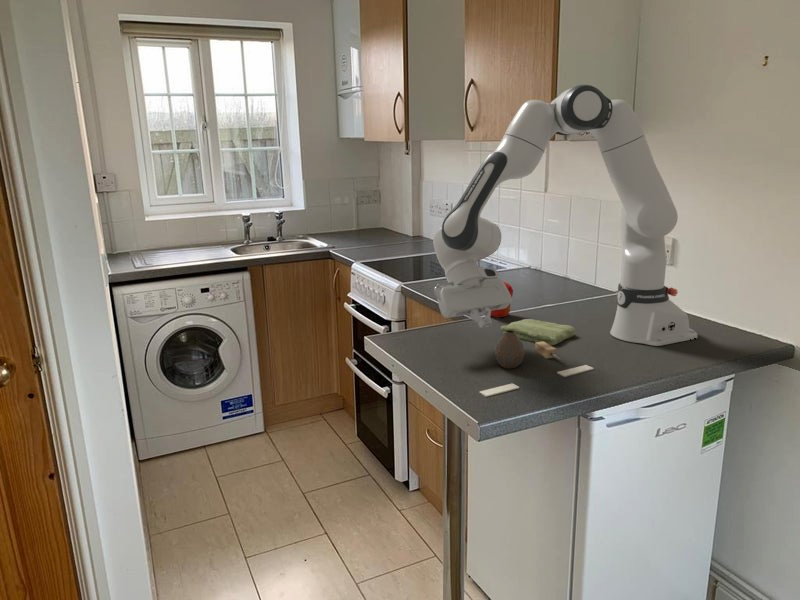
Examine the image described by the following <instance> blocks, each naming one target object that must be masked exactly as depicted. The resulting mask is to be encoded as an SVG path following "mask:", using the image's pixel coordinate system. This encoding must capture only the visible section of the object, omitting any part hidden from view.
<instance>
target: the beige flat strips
mask: <svg viewBox="0 0 800 600" xmlns="http://www.w3.org/2000/svg"><path fill="white" fill-rule="evenodd" d="M593 370H594V367H592V366H589V365H587V364H584V365H579V366H577V367H576V366H575V367H571V368H568V369H564V370H560V371H556V373H557V374H558V375H559V376H562V377H565V378H566V377H569V376H574V375H577V374H581V373H586V372H588V371H593ZM519 389H520V386H518V385H516V384H514V383H508V384H504V385H500V386H496V387H492V388H488V389H483V390H479V394H480V393H481V394H480V395H481V396H484V397H485V398H486V397H487V398H488V397H491V396H496V395H501V394H503V393H507V392H511V391H515V390H519Z"/></svg>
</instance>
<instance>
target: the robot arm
mask: <svg viewBox="0 0 800 600" xmlns="http://www.w3.org/2000/svg"><path fill="white" fill-rule="evenodd" d="M586 131H587V132H589V133H590V134H591V135H592V136H593V137H594V138H595V141H597V145H598V148H599V152H600V154H601V156H602V159H603V162H604V165H605V167H606V170H607V173H608V175H609V178H610V181H611V183H612V184H613V186H614V188H615V191H616V193H617V195H618V197H619V199H620V201H621V204H622V205H621V211H620V213H621V216H620V219H621V220H620V221H621V222H620V223H621V225H620V227H621V228H620V229H621V232H620V233H621V234H620V237H621V238H620V239H621V266H620V281H619V283H618V287H617V296H616V299H617V301H616V302H617V307H616V312H615V316H614V321H613V323H612V326H611V328H610V332H609V333H610V335H611V336H612V337H614V338H616V339H618V340H621V341H625V342H630V343H634V344H635V343H637V344H644V345H649V346H654V347H658V346H659V347H660V346H664V345H671V344H675V343H679V342H681V343H682V342H685V341H690V339H691V340H695V339H694V338H696V339H698V333H697V332H696V331H695V330H694V329H692V328H690V321H689V317H688V314H687V313H686V312H685V311H684V310H683V309H682V308H681V307H679V306H678V305H676V304H675V303H674V301H672V300H671V299H670V297H669V296H671V297H676V296H677V295H678V293H679V292H678V289H677V288H673V287H668V286H666V285H665V279H666V269H667V268H666V267H667V260H668V259H667V253H666V244H665V243H666V242H665V239H666V238H665V236H667V235H668V234H670V233H671V232H672V231H673V230H674V229H675V227H676V225H677V222H678V217H679V216H678V211H677V208H676V206H675V204H674V201H673V199H672V197H671V195H670V192H669V190H668V188H667V186H666V184H665V181H664V180H663V177H662V176H661V173H660V171H659V169H658V167H657V165H656V163H655V160H654V158H653V155H652V152H651V149H650V147H649V143H648V140H647V138H646V136H645V135H646V134H645V133H644V129H643V127H642V125H641V123H640V121H639V118H638V116H637V115H636V113H635V111H634V110H633V107H632V106H631V104H630V103H629V102H627V101H626V100H624V99H617V98H616V99H611V98H609V97H607V96H606V95H605V94H604V93H603V92H602V91H601V90H600V89H598V88H597V87H596V86H593V85H591V84H580V85H576V86H573V87H571V88H568V89H566V90H564V91H563V92H562V93H560V94H559V95H557V96H556V97H555V98H554V99H552V100H550V102H548V103H547V102H545V101H543V100H539V99H529V100H527V101H525V102H524V103H522V105H521V106H520V108H519V109H518V110H517V112H516V113H515V115H514V116H513V118H512V120H511V122H510V123H509V125H508V127H507V129H506V130H505V133H504V135H503V136H502V138H501V140H500V143H499V144H498V146H497V147H496V148H495V150H494V151H493V152H492V153H490V154H489V155H488V156H487V157H486V158H485V159H484V160H483V161H482V163H481V165H480V166H479V168H478V169H477V171H476V173H475V174H474V176H473V177H472V179H471V181H470V182H469V184H468V185H467V187H466V189H465V190H464V192H463V194H462V195H461V197H460V199H459V200H458V202H457V203H456V205H455V206H454V207H452V209H451V210H450V211H449V212H448V214H447V215H446V216H445V218H444V219H443V221H442V225H441V227H440V228H438V229H437V231H436V232H435V233H434V235H433V237H432V240H433V241H432V242H433V244H432V245H433V248H434V252H435V255H436V257H437V261H438V262H439V264H440V266H441V268H442V269H443V270H444V275H445V276H444V277H445V278H446V280H447V282H446V283H438V284H436V286H435V287H434V289H433V293H434V295H435V297H436V299H437V304H438V307H439V310H440V313H441V316H442V317H444V318H445V319H450V318H456V317H463V316H467V315H468V316H470V318H471V319H472V320H474V321H475V323H477V324H478V327H479V328H480V329H481V328H482V329H483V328H487V327H491V326H492V325H493V321H492V319H491V311H492V310H498V309H504V308H507V307H508V305H509V304H510V305H511V304H512V301H513V296H512V297H511V295H510V293H509V291H508V289H507V287H506V285H505V284H504V282H505V281H503V280H502V279H501V278H499V276H500V274H499V272H498V270H496V269H493V268H488V267H487V268H486V267H483V266H479V265H478V264H477V261H481V260H483V259H485V258H487V257H490V256H491V255H493V254H494V253H496V251H497V250H499V248H500V245H501V243H502V232H501V229H500V228H499V226H498V225H497V224H495V222H492V221H490V220H489V219H487V218H484V217H481V214H482V211H483V210H484V208H485V206H486V204H487V203H488V201H489V200H490V198H491V196H492V194H494V193H493V192H495V190H496V189H497V187H498V186H499V185H500V184H502V183H503V182H506V181H508V180H516V179H517V180H519V179H522V178H525V177H527V176H529V175H532V173H533V172H534V170H535V169H536V168H537V166H538V165H539V163H540V161H541V159H542V157H543V155H544V153H545V151H546V149H547V148H548V144H549V142H550V141H551V139H552V138H553V137H554V135H558V136H572V135H577V134H583V133H584V132H586ZM479 313H481V314H482V315H483V316H484V318H483V317H482V316H481V315H480V314H479Z"/></svg>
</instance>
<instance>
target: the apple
mask: <svg viewBox="0 0 800 600" xmlns="http://www.w3.org/2000/svg"><path fill="white" fill-rule="evenodd" d="M503 282H504V284H505V285H506V287H507V289H508V291H509V293H510V295H511V297H512V298H513V296H514V294H513V293H514V289H513V287H512V286H511V284H509V283H507V282H506V281H503ZM510 312H511V303H510V304H509V305H508V307H507V308H504V309H498V310H492V311H491V315H490V317H494V318H504V317H505V318H506V317H507V316H508V315H509V313H510Z"/></svg>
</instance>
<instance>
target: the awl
mask: <svg viewBox="0 0 800 600" xmlns="http://www.w3.org/2000/svg"><path fill="white" fill-rule="evenodd" d="M534 343H535V344H534V351H535V352H537V353H538V354H540V355H541V356H542V357H544V358H545V359H552V358H554V359H556V360H558V361H559V362H561V363H562V364H565V363H566V360H565V359H563V358H562V357H559V355H556V352H557V351H556V350H557V349H556V348H555V347H554V346H553V345H551V346H550V345H549V344H547V343H545V342H544V341H543V342H534Z"/></svg>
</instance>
